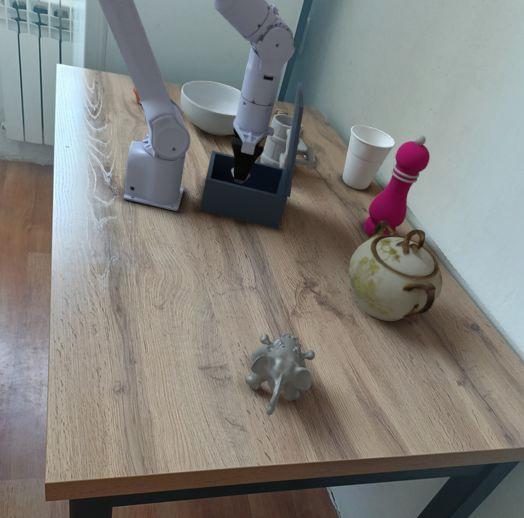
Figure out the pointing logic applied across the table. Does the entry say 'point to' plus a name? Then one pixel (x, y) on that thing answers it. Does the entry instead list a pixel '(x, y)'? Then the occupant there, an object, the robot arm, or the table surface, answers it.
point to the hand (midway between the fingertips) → (239, 173)
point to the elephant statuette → (280, 368)
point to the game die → (239, 180)
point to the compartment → (245, 192)
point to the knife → (301, 144)
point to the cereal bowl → (210, 106)
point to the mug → (278, 141)
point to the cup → (365, 155)
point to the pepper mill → (398, 186)
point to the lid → (294, 142)
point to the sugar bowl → (394, 275)
